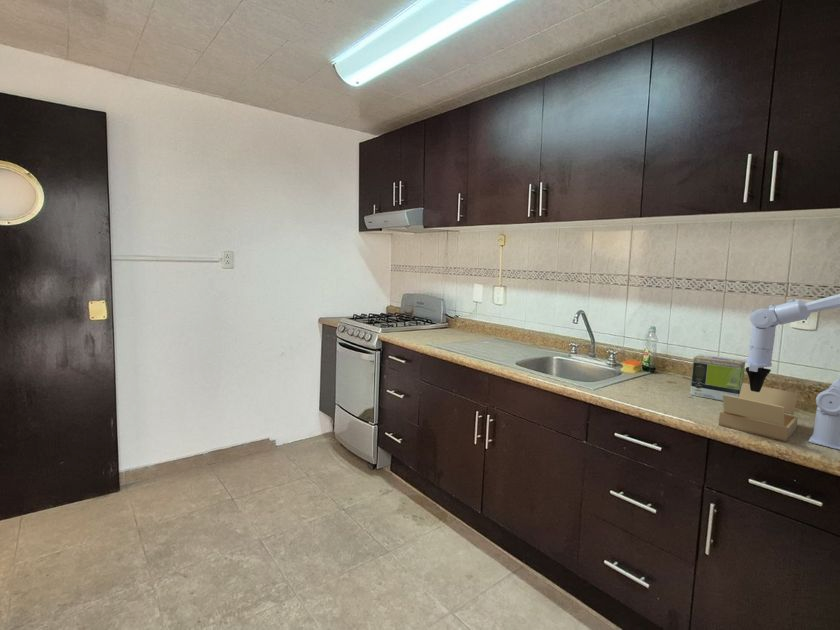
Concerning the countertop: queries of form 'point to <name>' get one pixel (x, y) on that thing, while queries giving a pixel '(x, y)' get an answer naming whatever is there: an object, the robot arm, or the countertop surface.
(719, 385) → the tea box
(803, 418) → the countertop surface
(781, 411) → the flap
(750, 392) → the flap
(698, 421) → the countertop surface
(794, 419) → the carton
